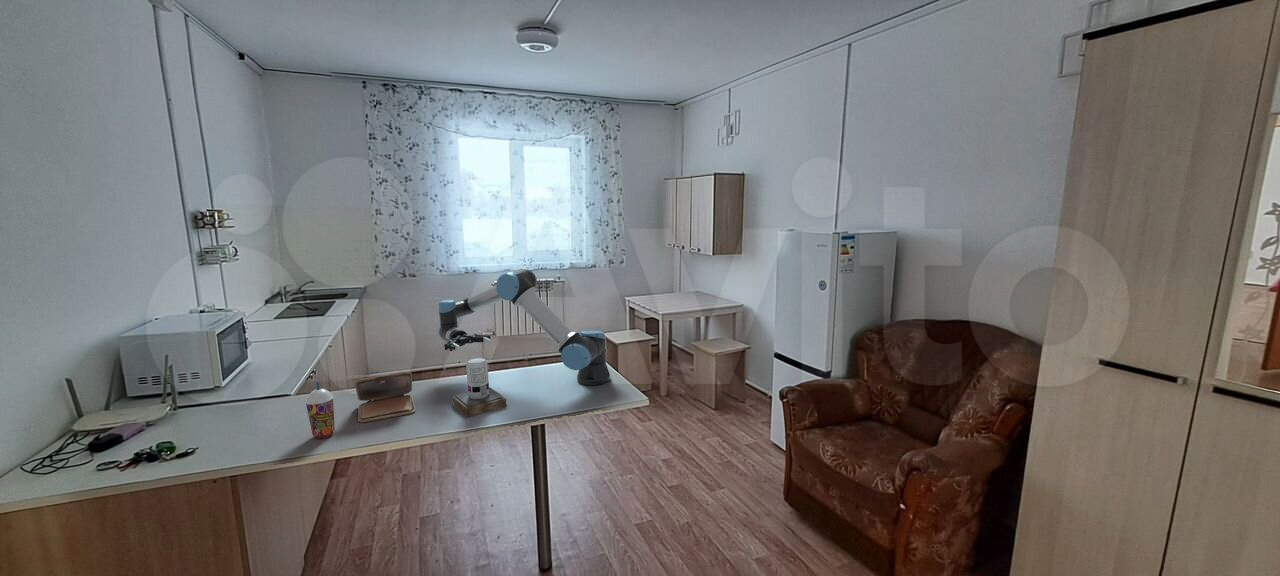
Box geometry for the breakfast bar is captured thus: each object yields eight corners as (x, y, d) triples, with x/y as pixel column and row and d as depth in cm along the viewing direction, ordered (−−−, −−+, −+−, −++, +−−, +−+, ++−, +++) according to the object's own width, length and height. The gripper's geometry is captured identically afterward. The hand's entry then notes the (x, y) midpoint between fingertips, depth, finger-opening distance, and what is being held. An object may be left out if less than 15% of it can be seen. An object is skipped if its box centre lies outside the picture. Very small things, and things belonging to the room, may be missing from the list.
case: (413, 396, 217) (409, 360, 214) (416, 413, 198) (412, 374, 196) (358, 406, 207) (354, 368, 205) (357, 425, 189) (352, 384, 186)
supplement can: (464, 398, 202) (461, 362, 200) (477, 391, 210) (475, 356, 207) (480, 401, 199) (477, 364, 197) (493, 393, 207) (491, 358, 204)
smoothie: (317, 442, 174) (310, 387, 171) (305, 437, 179) (298, 383, 175) (342, 433, 181) (336, 380, 178) (330, 428, 186) (323, 376, 182)
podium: (490, 395, 216) (490, 386, 215) (506, 406, 204) (505, 397, 203) (453, 404, 206) (452, 395, 206) (467, 417, 194) (466, 407, 193)
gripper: (484, 339, 239) (503, 348, 222) (429, 350, 223) (446, 360, 207) (482, 324, 237) (502, 332, 221) (428, 334, 222) (444, 343, 206)
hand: (475, 346), depth 214 cm, fingers open, 13 cm apart
